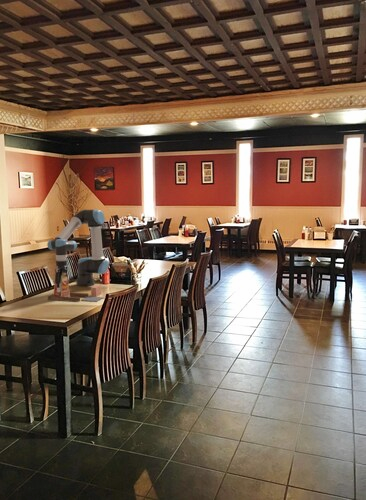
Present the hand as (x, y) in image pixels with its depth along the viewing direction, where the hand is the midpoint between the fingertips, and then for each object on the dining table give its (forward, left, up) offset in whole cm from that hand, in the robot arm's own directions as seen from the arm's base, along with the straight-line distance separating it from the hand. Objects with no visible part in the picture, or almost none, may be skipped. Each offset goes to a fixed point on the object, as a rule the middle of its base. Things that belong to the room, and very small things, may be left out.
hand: (62, 290), depth 313 cm
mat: (0, +24, -5) cm, 25 cm away
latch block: (-14, +21, -5) cm, 26 cm away
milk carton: (0, 0, -6) cm, 6 cm away
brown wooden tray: (0, +5, -5) cm, 7 cm away
